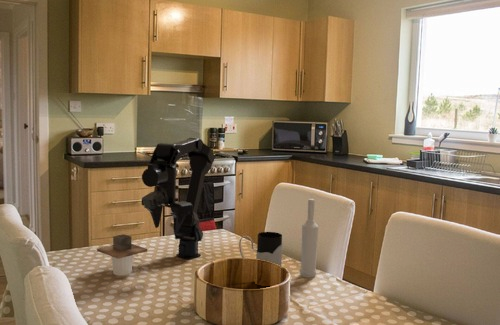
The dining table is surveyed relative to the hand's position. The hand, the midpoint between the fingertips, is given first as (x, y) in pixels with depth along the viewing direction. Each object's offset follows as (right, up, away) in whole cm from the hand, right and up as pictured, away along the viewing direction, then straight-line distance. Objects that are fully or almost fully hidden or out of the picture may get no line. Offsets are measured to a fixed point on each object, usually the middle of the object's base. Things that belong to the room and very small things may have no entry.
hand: (166, 230), depth 168 cm
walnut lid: (-13, -6, -4) cm, 15 cm away
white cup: (-13, -13, -3) cm, 19 cm away
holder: (+30, -15, -7) cm, 34 cm away
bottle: (+46, -15, 0) cm, 48 cm away
